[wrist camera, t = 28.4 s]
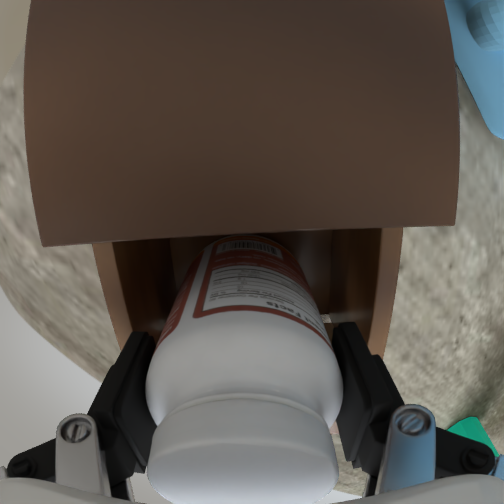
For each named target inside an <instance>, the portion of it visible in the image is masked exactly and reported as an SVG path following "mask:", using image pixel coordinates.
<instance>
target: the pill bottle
mask: <svg viewBox="0 0 504 504" xmlns="http://www.w3.org/2000/svg"><path fill="white" fill-rule="evenodd" d="M343 390H344V387H343V379H342V374H341V371H340V368H339V365H338V361H337V359H336V356H335V353H334V350H333V348H332V345H331V342H330V340H329V337H328V335H327V332H326V329H325V326H324V324H323V321H322V319H321V316H320V313H319V310H318V308H317V305H316V303H315V300H314V298H313V295H312V293H311V290H310V287H309V285H308V282H307V280H306V277H305V274H304V272H303V270H302V268H301V266H300V265H299V263H298V261H297V260H296V259H295V257H294V256H293V255H292V254H291V253H290V252H289V251H288V250H287V249H286V248H284V247H283V246H282V245H280V244H279V243H277V242H275V241H273V240H271V239H268V238H265V237H262V236H258V235H252V234H238V235H231V236H227V237H224V238H221V239H219V240H217V241H215V242H213V243H211V244H210V245H208V246H207V247H205V248H204V249H203V250H202V251H201V252H200V253H199V254H198V255H197V256H196V257H195V259H194V260H193V262H192V263H191V265H190V266H189V268H188V270H187V272H186V275H185V277H184V279H183V282H182V285H181V287H180V289H179V292H178V294H177V297H176V299H175V301H174V304H173V307H172V309H171V311H170V314H169V316H168V319H167V321H166V324H165V326H164V328H163V331H162V333H161V336H160V339H159V341H158V344H157V346H156V349H155V351H154V354H153V357H152V359H151V362H150V365H149V370H148V373H147V378H146V386H145V393H146V401H147V405H148V408H149V411H150V413H151V416H152V418H153V420H154V421H155V423H156V425H157V428H156V430H155V432H154V434H153V437H152V445H151V450H150V456H149V460H148V465H147V476H148V479H149V481H150V483H151V485H152V487H153V488H154V489H155V490H156V491H157V493H159V494H160V495H161V496H162V497H164V498H165V499H167V500H168V501H170V502H172V503H174V504H314V503H316V502H318V501H319V500H321V499H322V498H323V497H325V496H326V495H327V494H328V493H329V492H331V490H332V489H333V488H334V486H335V485H336V483H337V480H338V476H339V469H338V464H337V459H336V453H335V448H334V445H333V441H332V437H331V434H330V430H329V429H330V428H331V426H332V425H333V423H334V422H335V420H336V418H337V416H338V414H339V411H340V408H341V405H342V400H343Z"/></svg>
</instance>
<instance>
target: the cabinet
mask: <svg viewBox="0 0 504 504" xmlns="http://www.w3.org/2000/svg"><path fill="white" fill-rule="evenodd" d="M24 125H25V140H26V152H27V162H28V170H29V178H30V185H31V192H32V198H33V204H34V209H35V215H36V220H37V225H38V230H39V234H40V239H41V243H42V246H43V247H53V246H66V245H79V244H92V243H105V242H119V241H134V240H148V239H164V238H180V237H196V236H213V235H231V234H250V233H270V232H291V231H313V230H337V229H363V228H392V227H427V226H454V225H455V219H456V209H457V198H458V184H459V163H460V120H459V99H458V86H457V75H456V66H455V58H454V50H453V44H452V38H451V32H450V26H449V21H448V16H447V11H446V7H445V2H444V0H31V4H30V10H29V18H28V26H27V34H26V45H25V60H24Z"/></svg>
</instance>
